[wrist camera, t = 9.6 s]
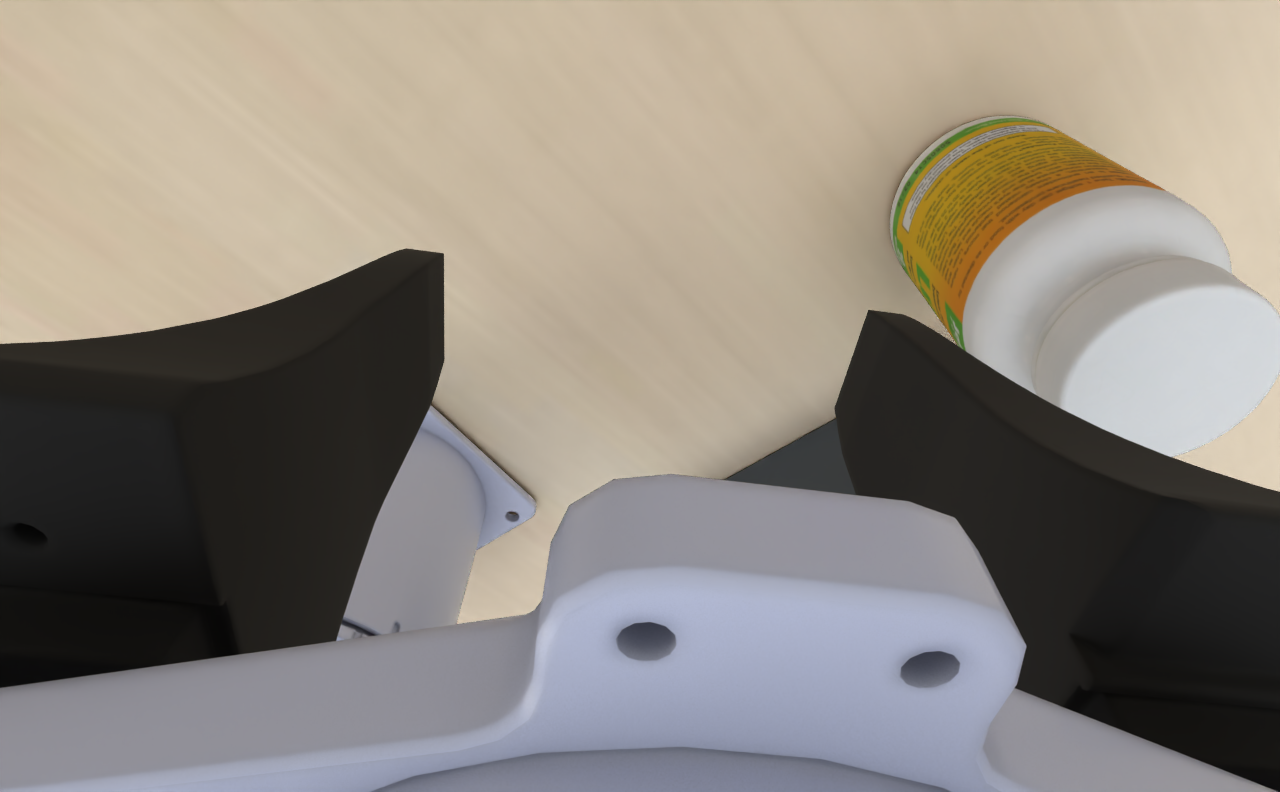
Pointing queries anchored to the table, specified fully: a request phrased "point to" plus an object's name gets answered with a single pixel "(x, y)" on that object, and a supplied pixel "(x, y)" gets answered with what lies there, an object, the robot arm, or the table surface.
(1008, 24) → the table surface
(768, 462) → the tray
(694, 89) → the table surface
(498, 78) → the table surface
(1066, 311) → the supplement bottle
